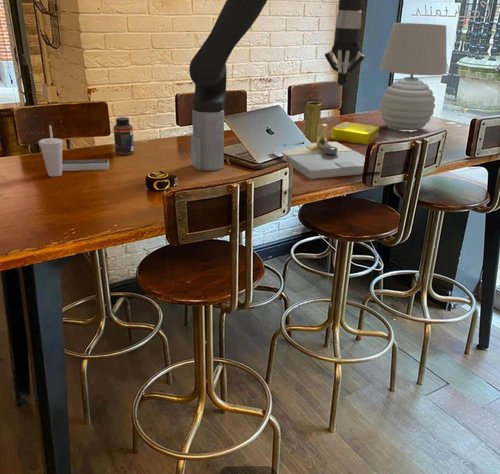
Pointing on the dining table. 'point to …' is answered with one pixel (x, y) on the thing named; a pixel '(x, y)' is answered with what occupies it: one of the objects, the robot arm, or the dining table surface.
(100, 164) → the multiport hub
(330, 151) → the latch arm
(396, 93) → the table lamp
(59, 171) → the smoothie
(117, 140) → the supplement bottle
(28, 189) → the dining table surface
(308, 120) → the vase
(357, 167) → the grey flat slab
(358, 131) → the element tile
